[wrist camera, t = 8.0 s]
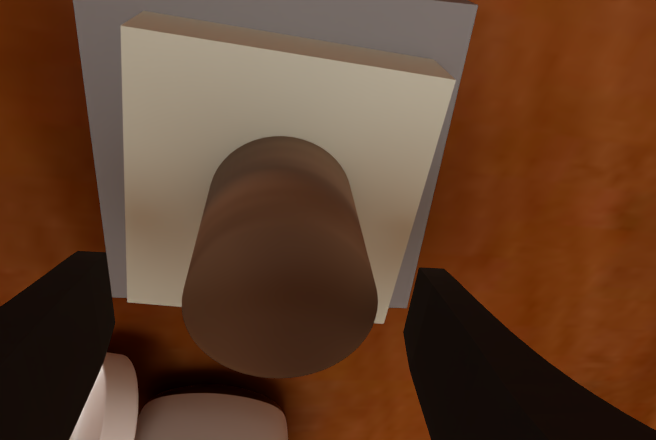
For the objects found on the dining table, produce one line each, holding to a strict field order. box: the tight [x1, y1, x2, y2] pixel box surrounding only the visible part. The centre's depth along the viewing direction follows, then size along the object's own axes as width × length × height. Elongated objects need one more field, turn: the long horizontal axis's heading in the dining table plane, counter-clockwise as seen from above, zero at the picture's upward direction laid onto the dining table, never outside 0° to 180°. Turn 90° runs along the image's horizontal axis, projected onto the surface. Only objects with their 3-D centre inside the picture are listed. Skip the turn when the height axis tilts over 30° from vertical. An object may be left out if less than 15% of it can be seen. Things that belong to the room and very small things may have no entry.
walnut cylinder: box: [182, 136, 378, 378], centre depth 14 cm, size 4×4×5 cm
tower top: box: [121, 11, 456, 324], centre depth 17 cm, size 9×9×2 cm
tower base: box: [73, 0, 478, 308], centre depth 19 cm, size 12×12×2 cm
